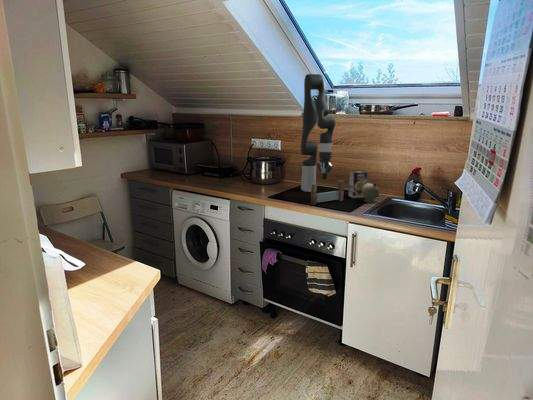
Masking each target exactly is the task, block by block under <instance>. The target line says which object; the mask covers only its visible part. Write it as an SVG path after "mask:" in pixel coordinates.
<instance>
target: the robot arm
mask: <svg viewBox="0 0 533 400" xmlns="http://www.w3.org/2000/svg"><path fill="white" fill-rule="evenodd" d="M303 82H304V84H303V88H304V89H303V95H304V97H303V99H304V100H303V110H302V111H303V112H302V113H303V114H302V134H301V139H300V154H301V155H302V156H310V157H308V158H306V159H304V160H302V162H301V163H302V167H301V171H302V173H301V177H300V178H301V179H300V182H301V183H300V190H301V191H303V192H309V193H311V186H312V184H317V182H316V178H317V168H318V170H319V172H321V179H322V180H323V181H324V180H327V178H328V173H330V172H331V170H332V169H333V168H334V165H333V164H331V163H332V162H331V159H332V156H333V155H332V154H333V153H332V152H333V145H332V144H333V140H332V139H333V134H334V130H335V128H336V124H337V122H336V118H335V117H334V116H329V114H330V109H329V107H328V102H327V97H326V89H325V81H324V77H323V75H322V74H318V73H317V74H316V73H307V74H306V75H305V77H304V81H303ZM312 90H314V91H315V90H316V91H317V92H318V95H317V96H316V99H315V102H314V101H313V98H312V92H311V91H312ZM316 125H317V127H318V128H319V129H321V130H323V129H324V130H326V129H327V130H326V131H325V132H322V133H320V135H319V144H318V143H317V141H316V140H308V139H309V136H310V133H311V132H312V131H313V129H314V127H315V126H316ZM318 145H319V147H318ZM317 159H319V162H318V160H317Z"/></svg>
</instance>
